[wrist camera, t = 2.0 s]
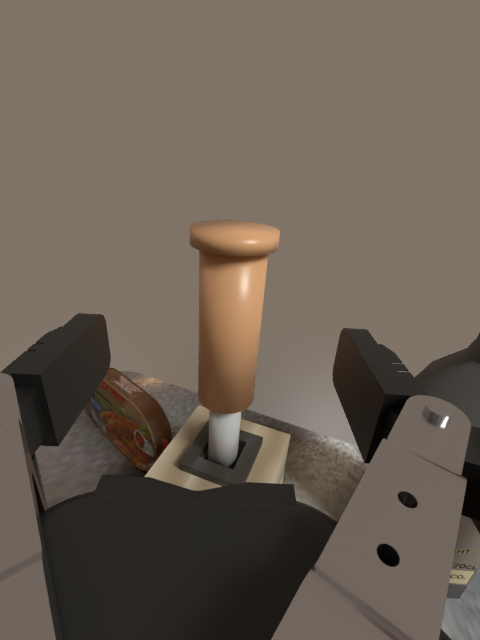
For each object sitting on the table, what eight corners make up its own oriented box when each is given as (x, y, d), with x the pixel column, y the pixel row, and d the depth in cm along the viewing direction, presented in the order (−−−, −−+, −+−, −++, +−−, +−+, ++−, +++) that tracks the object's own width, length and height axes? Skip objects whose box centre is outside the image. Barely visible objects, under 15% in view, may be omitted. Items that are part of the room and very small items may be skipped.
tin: (86, 416, 44) (76, 363, 40) (109, 405, 46) (101, 353, 42) (154, 487, 35) (149, 428, 31) (178, 469, 37) (176, 411, 33)
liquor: (388, 480, 37) (494, 202, 24) (479, 544, 31) (686, 224, 18) (344, 532, 32) (452, 207, 19) (446, 624, 26) (711, 241, 13)
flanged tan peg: (179, 479, 28) (171, 229, 19) (207, 434, 33) (213, 217, 24) (240, 503, 26) (264, 243, 17) (261, 452, 31) (289, 227, 22)
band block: (147, 541, 30) (140, 474, 26) (198, 458, 38) (198, 399, 35) (250, 590, 27) (259, 523, 23) (281, 489, 35) (291, 428, 32)
